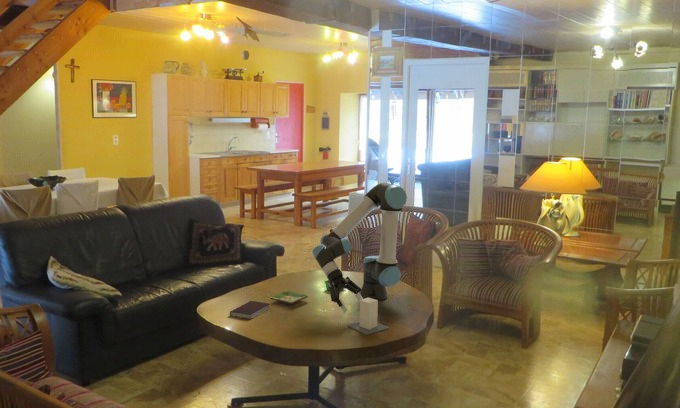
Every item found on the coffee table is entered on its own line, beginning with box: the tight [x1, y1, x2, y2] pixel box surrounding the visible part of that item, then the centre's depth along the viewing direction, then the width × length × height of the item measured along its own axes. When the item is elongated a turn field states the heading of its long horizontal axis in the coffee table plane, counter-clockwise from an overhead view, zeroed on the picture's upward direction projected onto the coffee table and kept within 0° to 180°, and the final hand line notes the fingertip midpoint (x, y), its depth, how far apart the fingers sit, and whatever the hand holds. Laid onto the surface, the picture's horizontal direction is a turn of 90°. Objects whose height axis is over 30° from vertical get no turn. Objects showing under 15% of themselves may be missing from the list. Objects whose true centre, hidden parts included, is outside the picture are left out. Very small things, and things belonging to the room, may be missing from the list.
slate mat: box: [347, 321, 390, 336], centre depth 283 cm, size 14×14×1 cm
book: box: [229, 300, 271, 320], centre depth 303 cm, size 12×19×3 cm, turn 156°
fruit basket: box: [324, 280, 345, 292], centre depth 342 cm, size 11×9×11 cm
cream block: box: [359, 298, 379, 329], centre depth 282 cm, size 6×6×13 cm
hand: (355, 308), depth 288 cm, fingers open, 13 cm apart
